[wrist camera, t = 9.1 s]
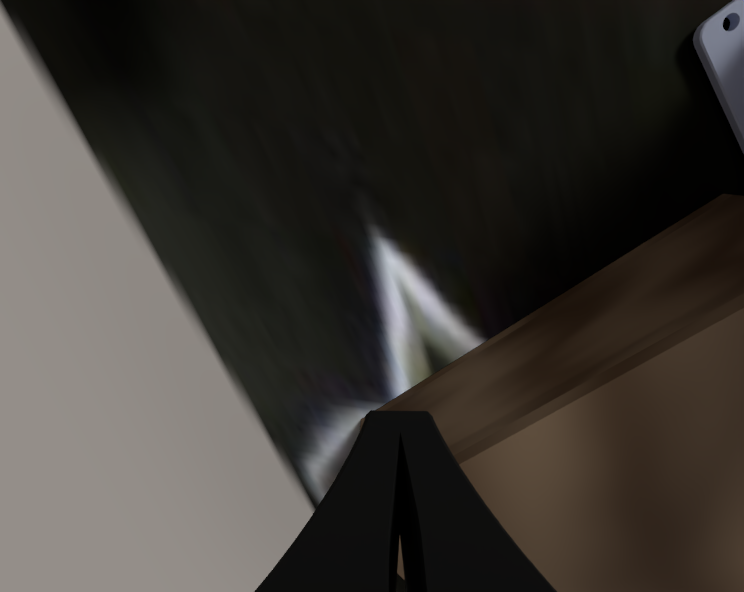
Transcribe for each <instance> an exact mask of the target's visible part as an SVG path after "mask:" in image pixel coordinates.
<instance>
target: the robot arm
mask: <svg viewBox="0 0 744 592" xmlns="http://www.w3.org/2000/svg"><path fill="white" fill-rule="evenodd" d="M725 17H727V18H728V19H729V20H730V26H729V29H728V30H727V31H725V29H724V28H723V21H724V19H725ZM693 43H694V47H695V49H696V52H697V54H698V56H699V58H700V60H701V62H702V65H703V67H704V69H705V71H706V73H707V75H708V78H709V80H710V82H711V84H712V86H713V89H714V91H715V93H716V95H717V97H718V99H719V102H720V104H721V106H722V108H723V110H724V113H725V115H726V117H727V119H728V121H729V123H730V126H731V128H732V130H733V132H734V134H735V136H736V139H737V141H738V143H739V145H740V147H741V150H742V152H743V154H744V0H733V1H731V2H730V3H729V4H727V5H726V6H724V7H723V8H722V9H720V10H719V11H718V12H716V13H715V14H714V15H712V16H711V17H709V18H708V19H707V20H705V21H704V22H703V23H702V24H701V25H700V26H699V27H698V28H697V29H696V31H695V33H694V37H693ZM399 538H400V541H401V551H402V560H403V569H404V578H405V587H406V592H557V591H556V590H555V589H554V588H553V587H552V585H551V584H550V583H549V582H548V581H547V580H546V579H545V577H544V576H543V575H542V574H541V573H540V572H539V570H538V569H537V568H536V567H535V566H534V565H533V563H532V562H531V561H530V560H529V559H528V558H527V556H526V555H525V554H524V553H523V552H522V550H521V549H520V548H519V547H518V545H517V544H516V543H515V542H514V540H513V539H512V538H511V537H510V535H509V534H508V533H507V532H506V530H505V529H504V528H503V526H502V525H501V524H500V522H499V521H498V520H497V518H496V517H495V516H494V515H493V513H492V512H491V511H490V509H489V508H488V507H487V505H486V504H485V502H484V501H483V500H482V498H481V497H480V495H479V494H478V492H477V491H476V490H475V488H474V487H473V485H472V484H471V482H470V481H469V479H468V478H467V476H466V475H465V473H464V472H463V470H462V469H461V467H460V466H459V464H458V462H457V461H456V459H455V457H454V456H453V454H452V453H451V451H450V449H449V447H448V446H447V444H446V442H445V440H444V439H443V437H442V435H441V433H440V431H439V429H438V427H437V425H436V423H435V421H434V419H433V416H432V415H431V414H430V413H429V412H428V411H370V412H369V413H368V414H366V416H365V420H364V423H363V425H362V428H361V430H360V433H359V435H358V437H357V439H356V441H355V444H354V446H353V448H352V450H351V452H350V454H349V455H348V457H347V459H346V461H345V463H344V464H343V466H342V468H341V470H340V472H339V473H338V475H337V477H336V479H335V481H334V482H333V484H332V486H331V487H330V489H329V490H328V492H327V493H326V495H325V496H324V498H323V500H322V501H321V503H320V504H319V506H318V507H317V509H316V510H315V512H314V513H313V515H312V517H311V518H310V520H309V521H308V523H307V524H306V525H305V527H304V528H303V530H302V531H301V532H300V534H299V535H298V537H297V538H296V540H295V541H294V542H293V544H292V545H291V546H290V548H289V549H288V550H287V552H286V553H285V554H284V556H283V557H282V558H281V559H280V561H279V562H278V563H277V565H276V566H275V567H274V569H273V570H272V571H271V572H270V573H269V575H268V576H267V577H266V578H265V580H264V581H263V582H262V583H261V585H260V586H259V587H258V588H257V589H256V590H255V592H396V584H397V569H398V554H399Z"/></svg>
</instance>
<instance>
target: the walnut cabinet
mask: <svg viewBox="0 0 744 592" xmlns="http://www.w3.org/2000/svg"><path fill="white" fill-rule="evenodd" d="M376 411H428V412H429V413H430V414H431V415H432V416H433V419H434V421H435V423H436V425H437V427H438V429H439V431H440V433H441V435H442V437H443V439H444V440H445V442H446V444H447V446H448V447H449V449H450V451H451V453H452V454H453V456H454V457H455V459H456V461H457V462H458V464H459V466H460V467H461V469H462V470H463V472H464V473H465V475H466V476H467V478H468V479H469V481H470V482H471V484H472V485H473V487H474V488H475V490H476V491H477V492H478V494H479V495H480V497H481V498H482V500H483V501H484V502H485V504H486V505H487V507H488V508H489V509H490V511H491V512H492V513H493V515H494V516H495V517H496V518H497V520H498V521H499V522H500V524H501V525H502V526H503V528H504V529H505V530H506V532H507V533H508V534H509V535H510V537H511V538H512V539H513V540H514V542H515V543H516V544H517V545H518V547H519V548H520V549H521V550H522V552H523V553H524V554H525V555H526V556H527V558H528V559H529V560H530V561H531V562H532V563H533V565H534V566H535V567H536V568H537V569H538V570H539V572H540V573H541V574H542V575H543V576H544V577H545V579H546V580H547V581H548V582H549V583H550V584H551V585H552V587H553V588H554V589H555V590H556V591H557V592H744V196H741V195H731V194H722V195H720V196H718V197H717V198H715V199H714V200H712V201H710V202H709V203H707V204H706V205H704V206H702V207H701V208H699V209H698V210H696V211H694V212H693V213H691V214H690V215H688V216H686V217H685V218H683V219H682V220H680V221H678V222H677V223H675V224H673V225H672V226H670V227H669V228H667V229H665V230H664V231H662V232H661V233H659V234H657V235H656V236H654V237H653V238H651V239H649V240H648V241H646V242H645V243H643V244H641V245H640V246H638V247H637V248H635V249H633V250H632V251H630V252H629V253H627V254H625V255H624V256H622V257H621V258H619V259H617V260H616V261H614V262H613V263H611V264H609V265H608V266H606V267H605V268H603V269H601V270H600V271H598V272H597V273H595V274H593V275H592V276H590V277H589V278H587V279H585V280H584V281H582V282H581V283H579V284H577V285H576V286H574V287H573V288H571V289H569V290H568V291H566V292H565V293H563V294H561V295H560V296H558V297H557V298H555V299H553V300H552V301H550V302H549V303H547V304H545V305H544V306H542V307H541V308H539V309H537V310H536V311H534V312H533V313H531V314H529V315H528V316H526V317H525V318H523V319H521V320H520V321H518V322H517V323H515V324H513V325H512V326H510V327H508V328H507V329H505V330H504V331H502V332H500V333H499V334H497V335H496V336H494V337H492V338H491V339H489V340H488V341H486V342H484V343H483V344H481V345H480V346H478V347H476V348H475V349H473V350H472V351H470V352H468V353H467V354H465V355H464V356H462V357H460V358H459V359H457V360H456V361H454V362H452V363H451V364H449V365H448V366H446V367H444V368H443V369H441V370H440V371H438V372H436V373H435V374H433V375H432V376H430V377H428V378H427V379H425V380H424V381H422V382H420V383H419V384H417V385H416V386H414V387H412V388H411V389H409V390H408V391H406V392H404V393H403V394H401V395H400V396H398V397H396V398H395V399H393V400H392V401H390V402H388V403H387V404H385V405H384V406H382V407H380V408H379V409H377V410H376ZM364 420H365V417H364V418H363V419H361V426H360V430H361V428H362V425H363V423H364ZM397 573H398V574H399V575H400V576H401V577H402V578H403V579H404V580H405V578H404V569H403V560H402V551H401V541H400V538H399V554H398V569H397Z"/></svg>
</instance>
